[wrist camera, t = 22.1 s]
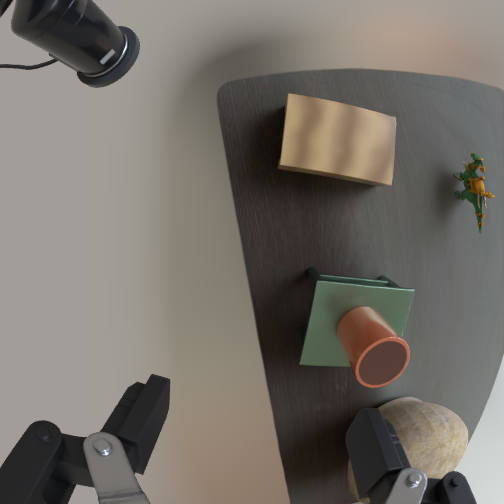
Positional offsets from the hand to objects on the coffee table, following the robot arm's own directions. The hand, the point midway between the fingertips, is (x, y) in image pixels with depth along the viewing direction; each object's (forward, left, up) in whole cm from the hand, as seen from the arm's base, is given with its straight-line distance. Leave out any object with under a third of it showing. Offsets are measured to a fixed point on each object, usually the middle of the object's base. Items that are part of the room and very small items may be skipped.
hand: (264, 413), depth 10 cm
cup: (+13, -5, -21) cm, 25 cm away
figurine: (+31, +15, -29) cm, 45 cm away
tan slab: (+8, +17, -29) cm, 34 cm away
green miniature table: (+13, -5, -29) cm, 32 cm away
